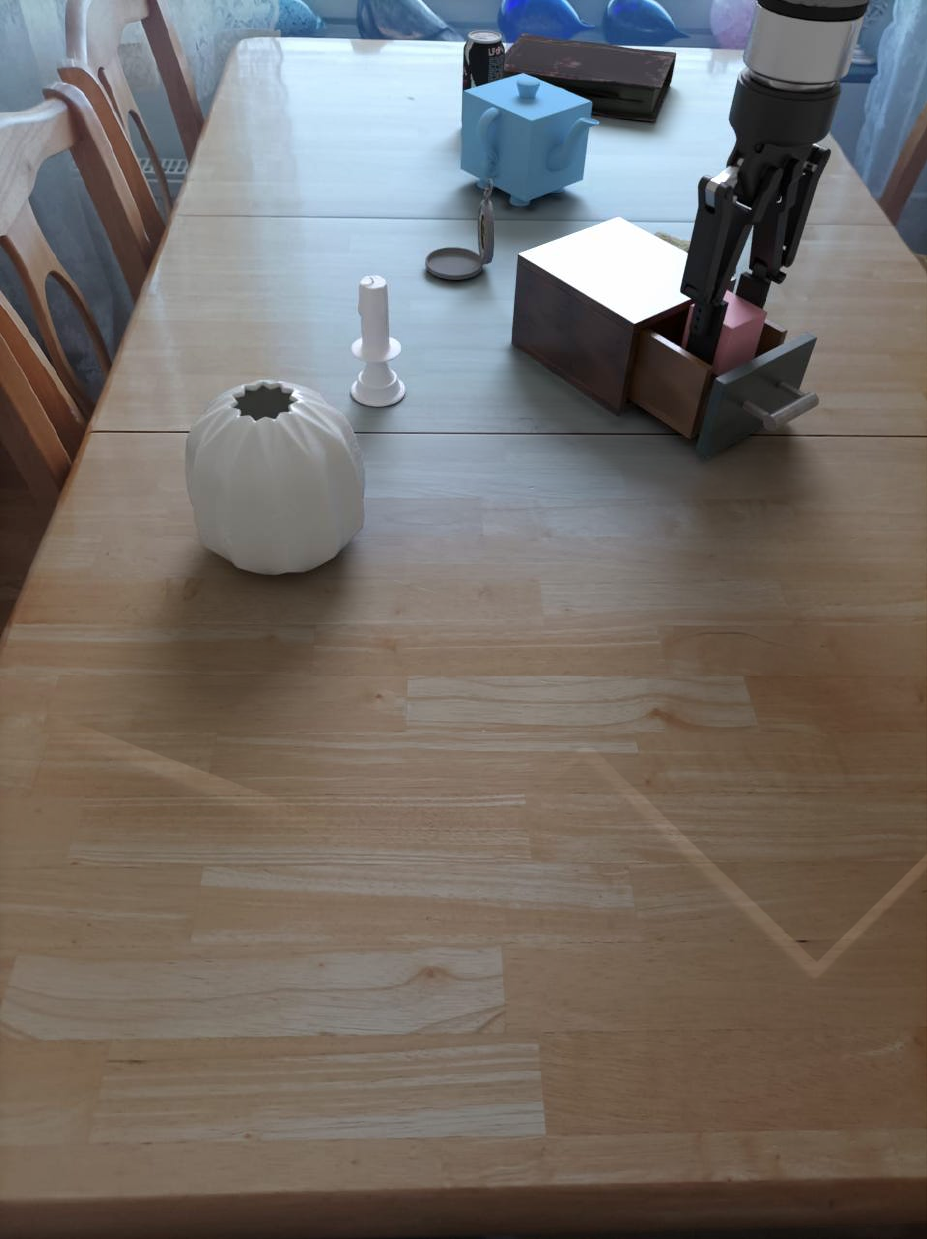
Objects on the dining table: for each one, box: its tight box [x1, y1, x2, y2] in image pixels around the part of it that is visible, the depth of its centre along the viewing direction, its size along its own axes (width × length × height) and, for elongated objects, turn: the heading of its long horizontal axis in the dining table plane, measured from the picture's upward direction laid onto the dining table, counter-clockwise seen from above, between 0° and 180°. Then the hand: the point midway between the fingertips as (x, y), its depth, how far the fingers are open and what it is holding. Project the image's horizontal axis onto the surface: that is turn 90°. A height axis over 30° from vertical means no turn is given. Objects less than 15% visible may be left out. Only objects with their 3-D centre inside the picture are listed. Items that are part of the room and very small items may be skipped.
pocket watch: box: [424, 179, 496, 281], centre depth 104 cm, size 8×8×10 cm
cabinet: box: [510, 216, 737, 417], centre depth 93 cm, size 16×14×10 cm
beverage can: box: [461, 29, 506, 123], centre depth 131 cm, size 6×6×12 cm
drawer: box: [627, 308, 820, 460], centre depth 87 cm, size 18×13×8 cm
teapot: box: [460, 73, 600, 207], centre depth 117 cm, size 18×16×13 cm
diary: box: [504, 32, 677, 122], centre depth 145 cm, size 19×25×5 cm
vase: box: [184, 378, 367, 576], centre depth 72 cm, size 14×14×13 cm
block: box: [681, 290, 768, 376], centre depth 84 cm, size 5×5×5 cm
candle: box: [350, 274, 407, 408], centre depth 87 cm, size 5×5×12 cm
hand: (717, 353), depth 85 cm, fingers closed on block, 5 cm apart
